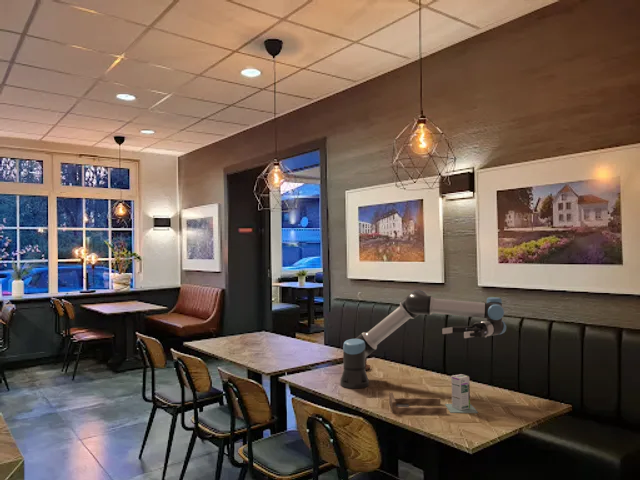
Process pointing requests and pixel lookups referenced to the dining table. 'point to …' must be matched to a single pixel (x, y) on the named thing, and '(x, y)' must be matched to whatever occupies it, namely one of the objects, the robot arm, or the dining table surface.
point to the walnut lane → (403, 408)
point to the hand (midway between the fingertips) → (453, 333)
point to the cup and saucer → (366, 365)
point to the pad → (453, 410)
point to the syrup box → (460, 392)
